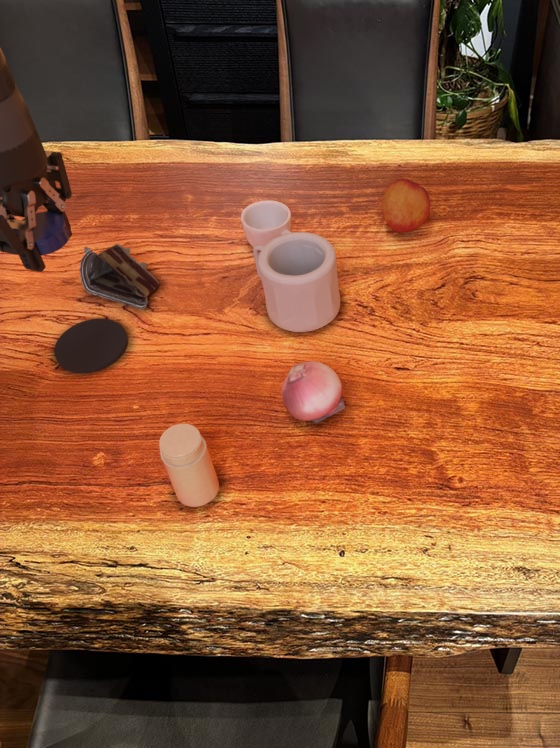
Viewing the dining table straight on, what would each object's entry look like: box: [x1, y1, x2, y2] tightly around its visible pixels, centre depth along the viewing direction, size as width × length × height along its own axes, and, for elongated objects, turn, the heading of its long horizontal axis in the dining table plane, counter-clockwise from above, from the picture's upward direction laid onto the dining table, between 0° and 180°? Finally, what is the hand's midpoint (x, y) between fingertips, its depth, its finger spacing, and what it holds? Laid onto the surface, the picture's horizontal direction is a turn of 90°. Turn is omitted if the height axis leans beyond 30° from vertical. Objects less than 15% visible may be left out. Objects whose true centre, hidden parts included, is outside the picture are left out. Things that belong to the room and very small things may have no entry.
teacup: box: [240, 199, 293, 248], centre depth 125 cm, size 10×8×5 cm
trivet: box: [53, 318, 129, 375], centre depth 113 cm, size 10×10×1 cm
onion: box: [280, 360, 346, 424], centre depth 102 cm, size 8×8×7 cm
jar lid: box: [19, 211, 70, 256], centre depth 97 cm, size 6×6×2 cm
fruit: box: [381, 177, 431, 234], centre depth 126 cm, size 8×8×8 cm
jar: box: [158, 423, 220, 508], centre depth 93 cm, size 5×5×10 cm
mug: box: [252, 231, 341, 333], centre depth 114 cm, size 14×11×10 cm
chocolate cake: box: [78, 243, 160, 310], centre depth 121 cm, size 10×7×12 cm
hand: (51, 252), depth 99 cm, fingers closed on jar lid, 6 cm apart
